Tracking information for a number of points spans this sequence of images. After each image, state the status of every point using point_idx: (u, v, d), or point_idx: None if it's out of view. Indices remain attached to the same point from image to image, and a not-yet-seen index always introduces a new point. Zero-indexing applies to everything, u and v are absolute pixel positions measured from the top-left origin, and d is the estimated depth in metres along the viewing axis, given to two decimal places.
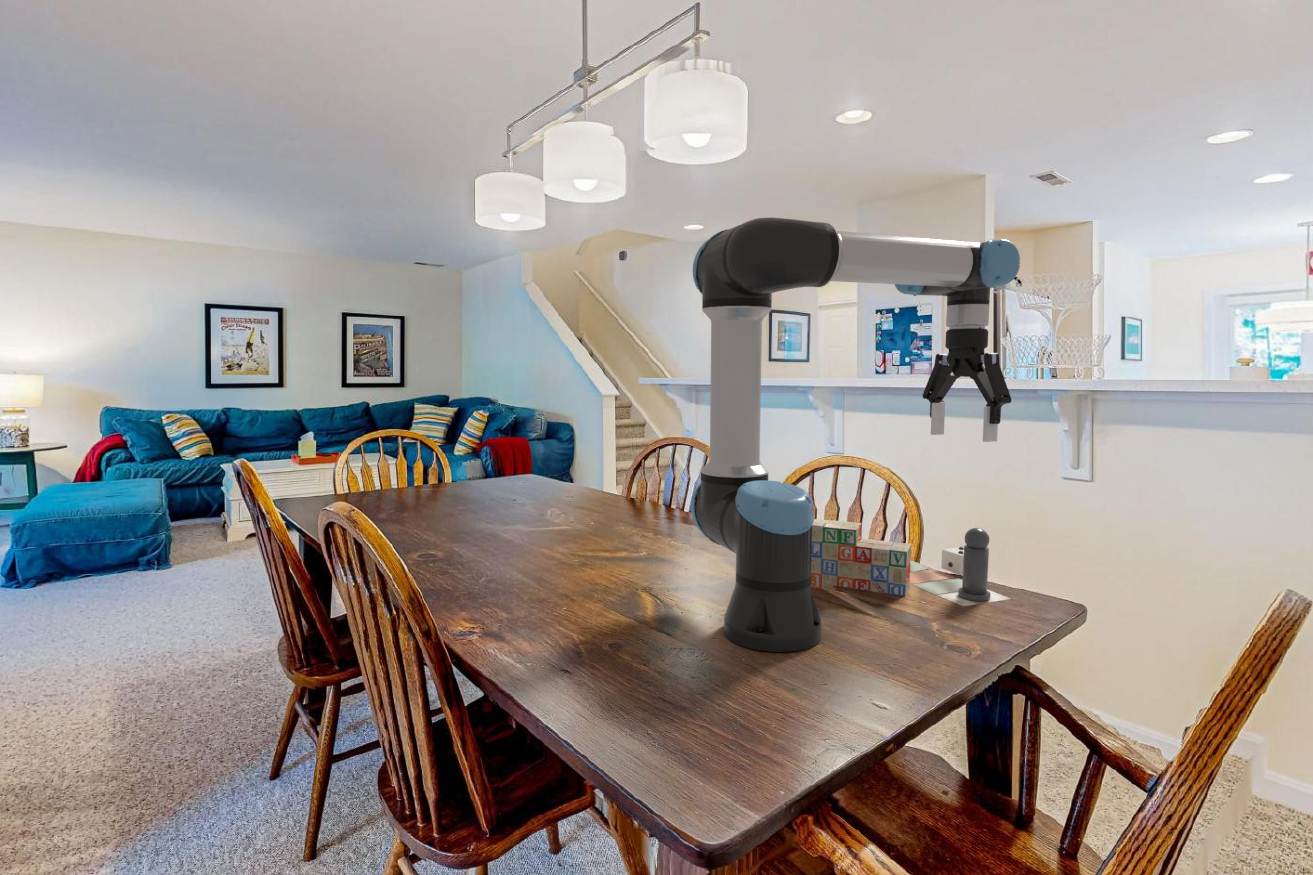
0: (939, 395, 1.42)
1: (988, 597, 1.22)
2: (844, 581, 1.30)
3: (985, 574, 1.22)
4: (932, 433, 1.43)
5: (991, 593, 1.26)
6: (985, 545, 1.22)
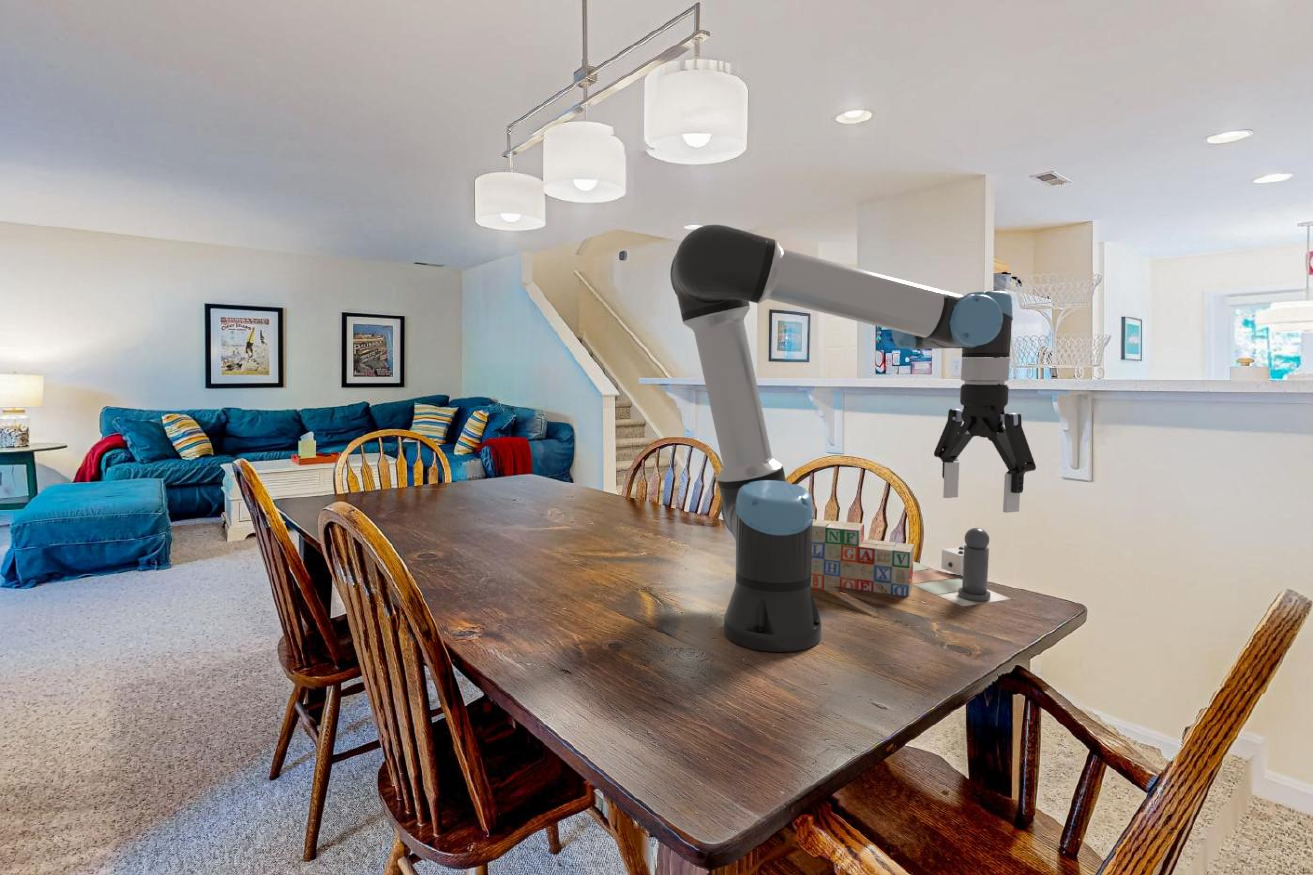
0: (953, 454, 1.28)
1: (988, 597, 1.22)
2: (847, 582, 1.30)
3: (985, 574, 1.22)
4: (945, 496, 1.29)
5: (991, 593, 1.26)
6: (985, 545, 1.22)
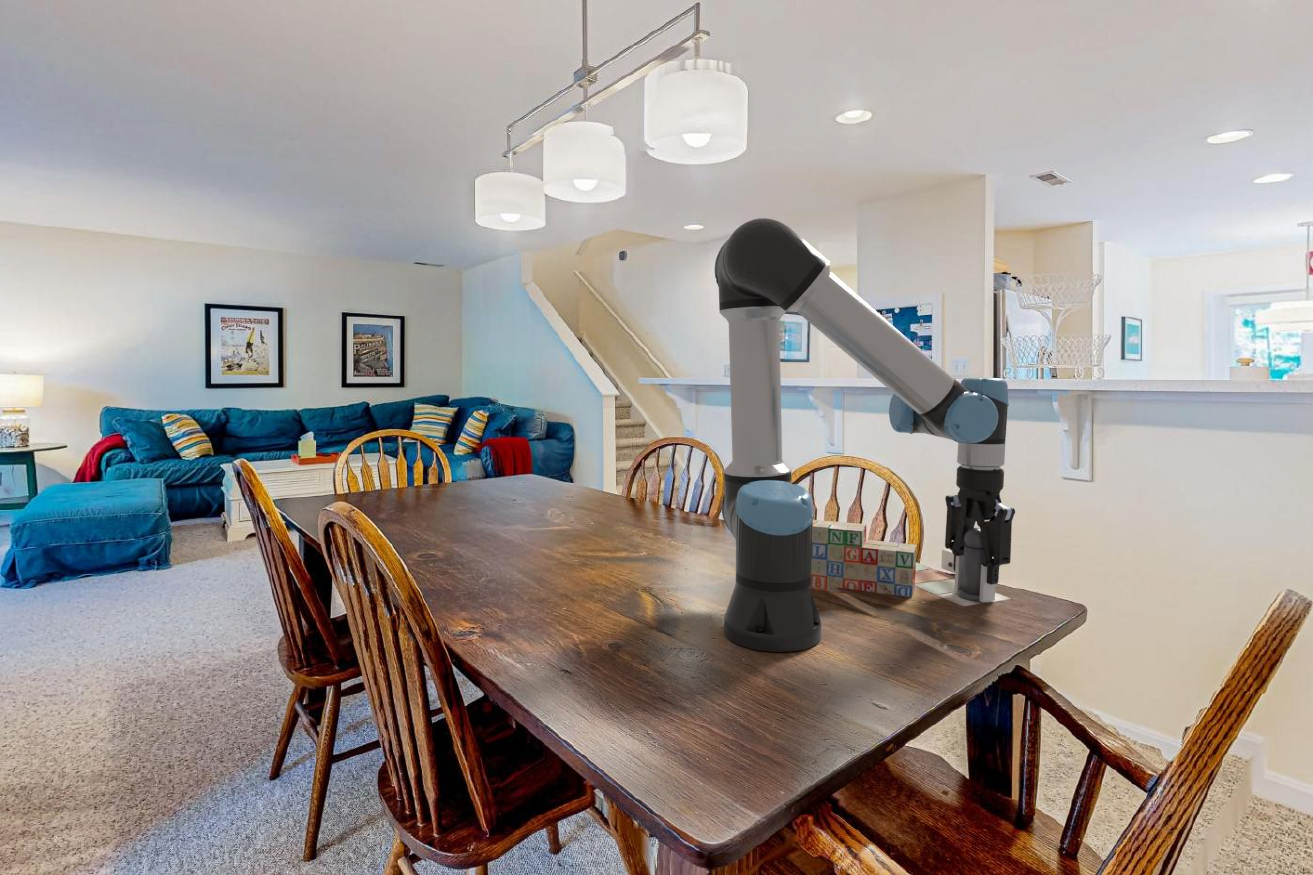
0: (962, 544, 1.26)
1: None
2: (850, 583, 1.29)
3: None
4: (956, 590, 1.27)
5: None
6: None
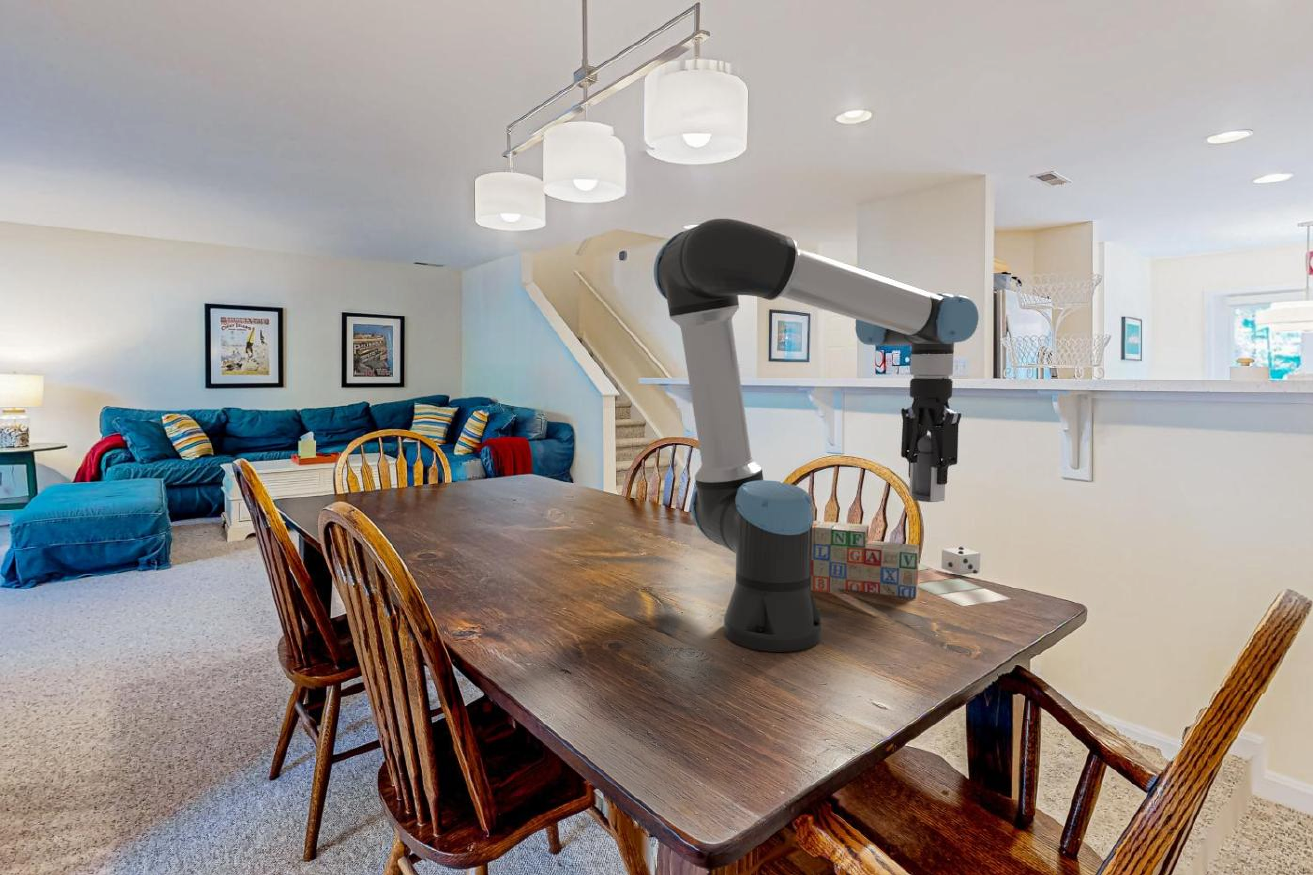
0: (916, 452, 1.37)
1: None
2: (853, 584, 1.28)
3: None
4: (910, 494, 1.37)
5: (991, 593, 1.26)
6: None
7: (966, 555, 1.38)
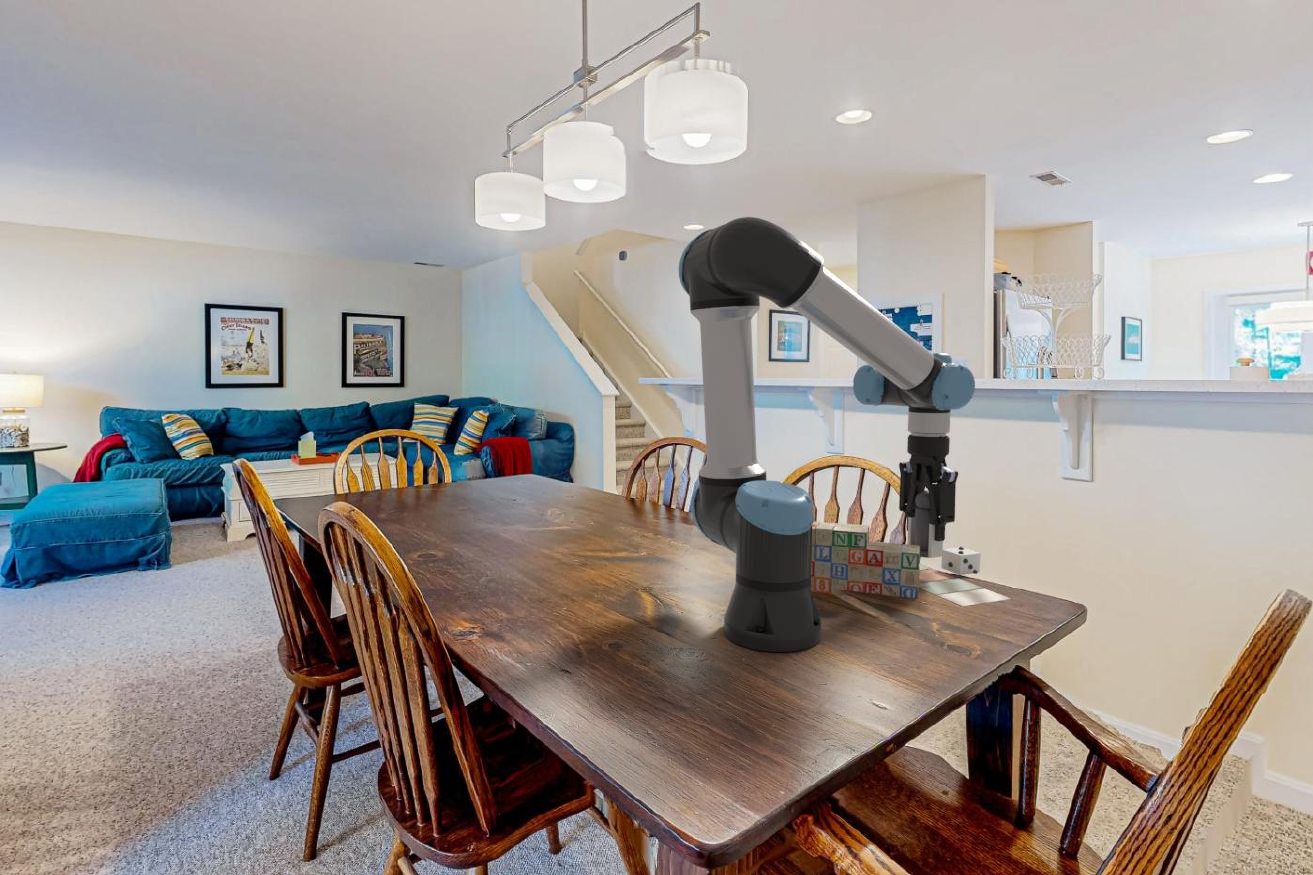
0: (914, 506, 1.38)
1: None
2: (854, 585, 1.28)
3: None
4: None
5: (991, 593, 1.26)
6: None
7: (966, 555, 1.38)
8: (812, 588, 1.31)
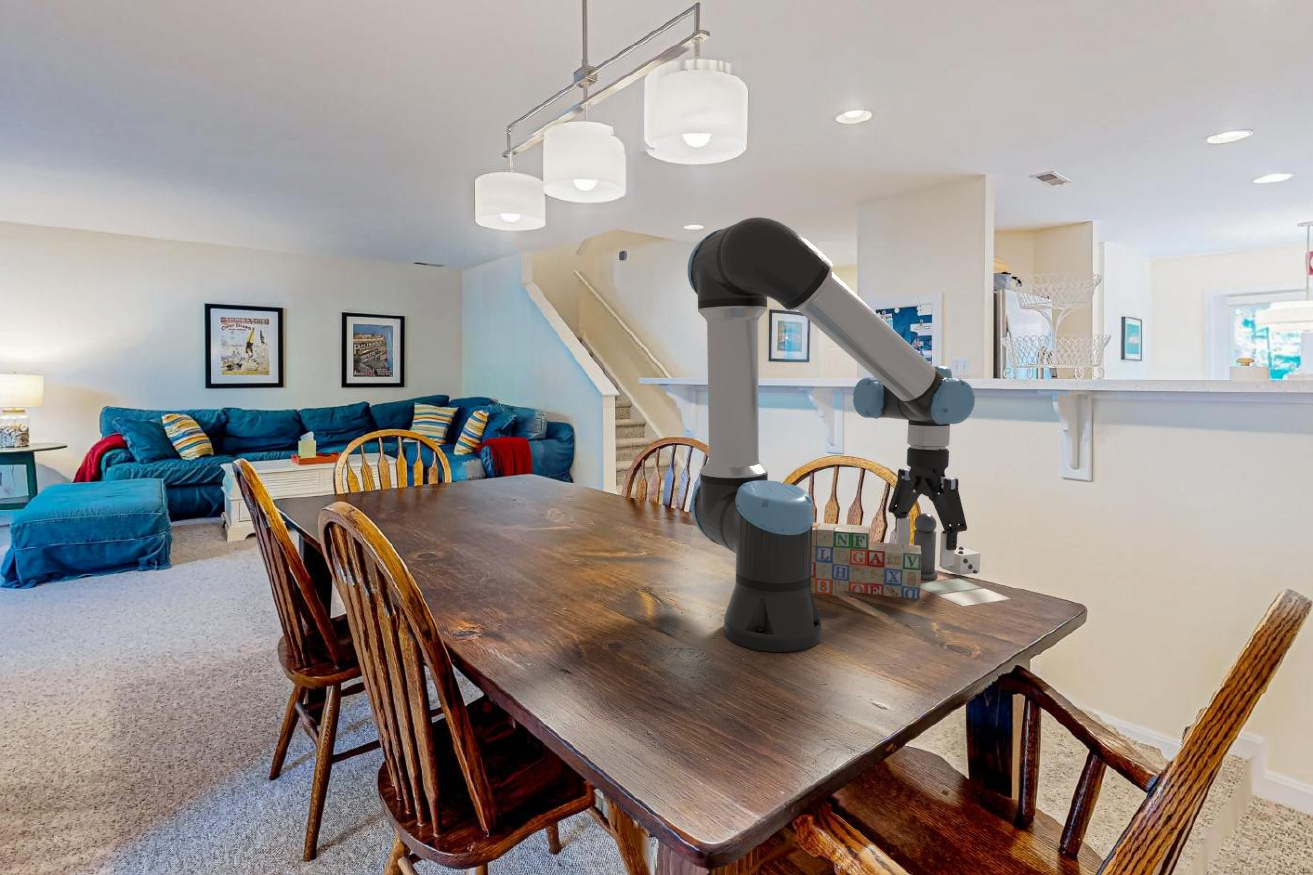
0: (904, 511, 1.41)
1: (935, 576, 1.34)
2: (856, 586, 1.27)
3: (932, 555, 1.34)
4: None
5: (991, 593, 1.26)
6: (932, 529, 1.34)
7: (966, 555, 1.38)
8: (813, 589, 1.30)
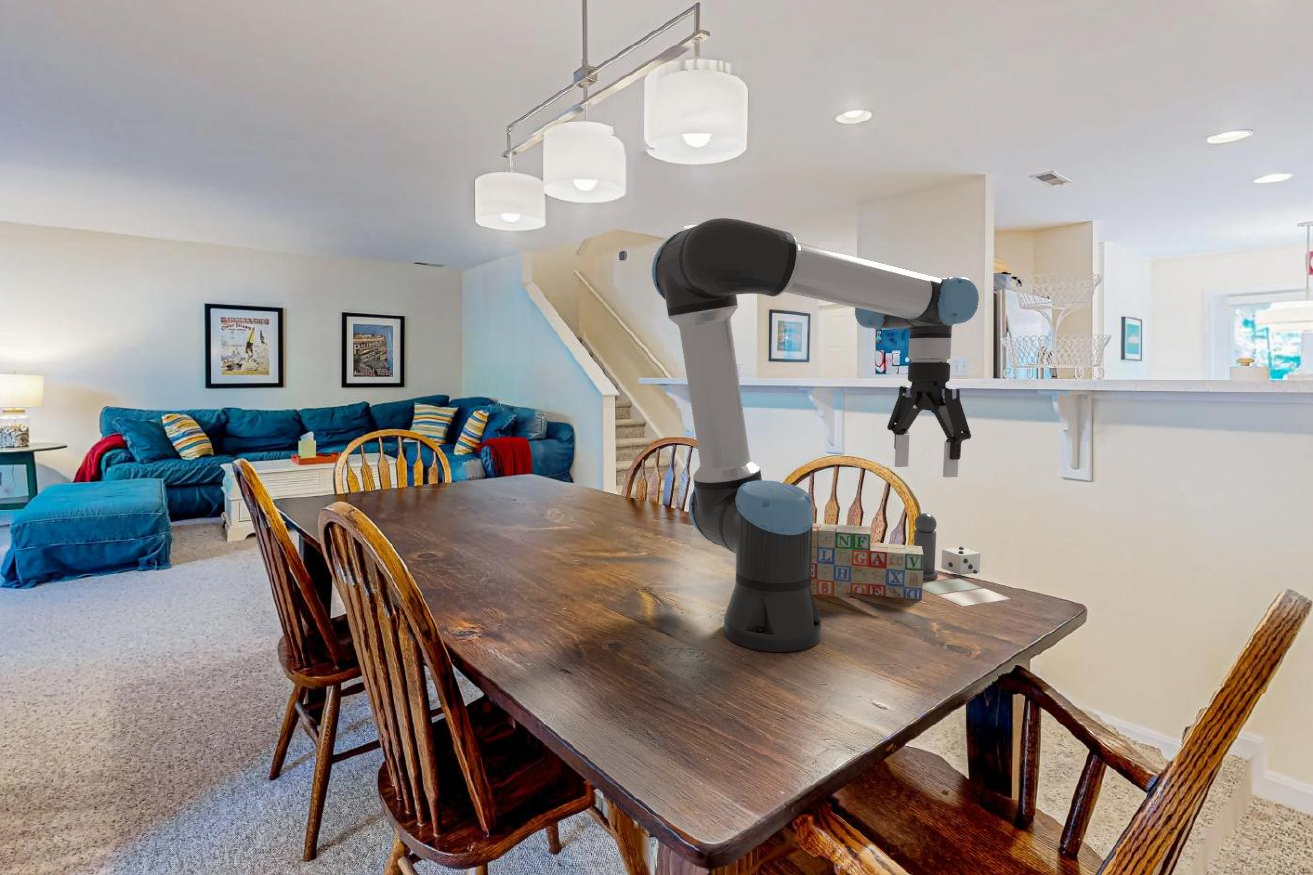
0: (903, 427, 1.40)
1: (935, 576, 1.34)
2: (858, 587, 1.27)
3: (932, 555, 1.34)
4: (896, 465, 1.41)
5: (991, 593, 1.26)
6: (932, 529, 1.34)
7: (966, 555, 1.38)
8: (815, 591, 1.29)
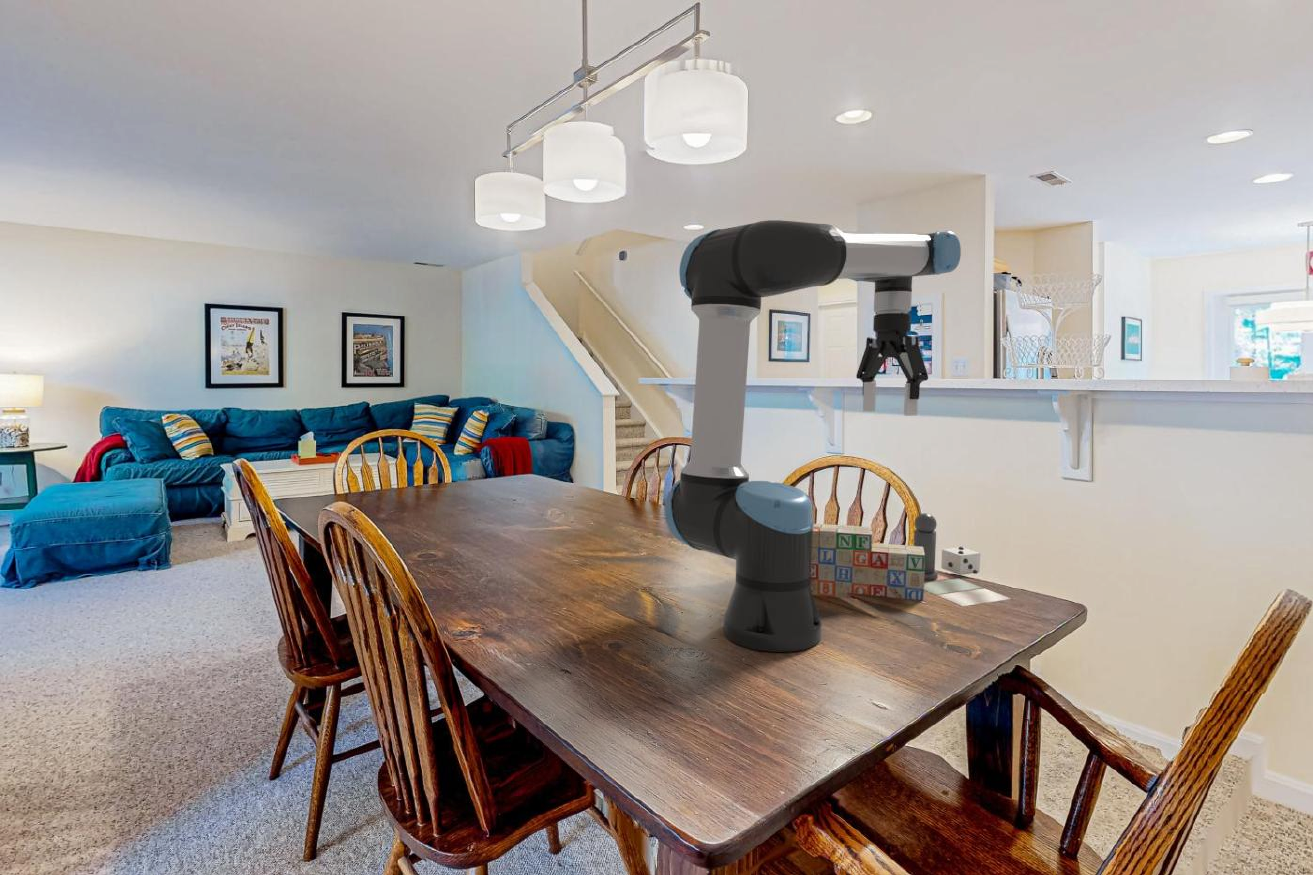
0: (870, 375, 1.55)
1: (935, 576, 1.34)
2: (859, 588, 1.26)
3: (932, 555, 1.34)
4: (864, 410, 1.56)
5: (991, 593, 1.26)
6: (932, 529, 1.34)
7: (966, 555, 1.38)
8: (816, 591, 1.29)
